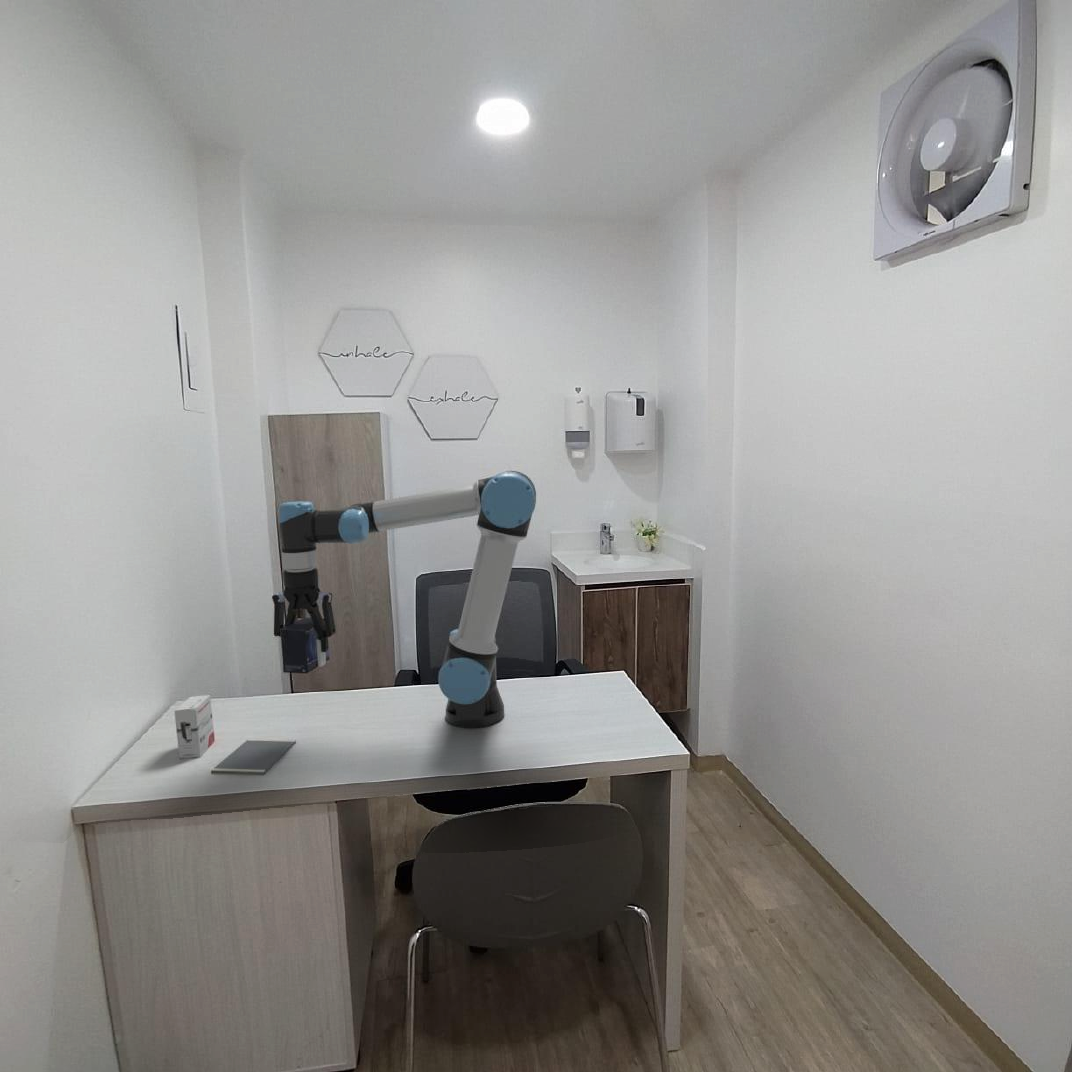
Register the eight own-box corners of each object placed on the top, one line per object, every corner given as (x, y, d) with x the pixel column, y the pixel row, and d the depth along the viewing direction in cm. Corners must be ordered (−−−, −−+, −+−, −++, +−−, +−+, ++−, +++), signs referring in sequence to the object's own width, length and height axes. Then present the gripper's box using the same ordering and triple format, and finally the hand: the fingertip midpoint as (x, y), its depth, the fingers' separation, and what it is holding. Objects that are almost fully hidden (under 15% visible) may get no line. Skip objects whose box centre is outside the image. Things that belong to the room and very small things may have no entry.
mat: (296, 742, 153) (295, 740, 153) (263, 774, 138) (263, 771, 138) (248, 741, 154) (248, 738, 154) (211, 773, 139) (210, 770, 139)
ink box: (194, 741, 155) (190, 695, 153) (215, 740, 155) (211, 694, 154) (178, 759, 146) (172, 709, 145) (200, 757, 147) (195, 708, 145)
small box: (308, 674, 145) (304, 629, 144) (282, 673, 147) (278, 629, 145) (331, 659, 156) (328, 617, 154) (307, 658, 157) (303, 616, 156)
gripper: (347, 565, 151) (353, 660, 154) (268, 565, 153) (275, 658, 156) (334, 572, 143) (340, 671, 147) (251, 571, 145) (259, 669, 149)
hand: (307, 664), depth 151 cm, fingers closed on small box, 7 cm apart
